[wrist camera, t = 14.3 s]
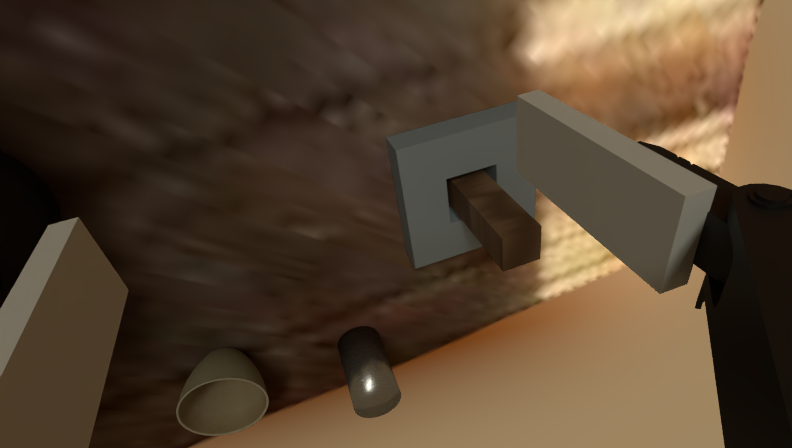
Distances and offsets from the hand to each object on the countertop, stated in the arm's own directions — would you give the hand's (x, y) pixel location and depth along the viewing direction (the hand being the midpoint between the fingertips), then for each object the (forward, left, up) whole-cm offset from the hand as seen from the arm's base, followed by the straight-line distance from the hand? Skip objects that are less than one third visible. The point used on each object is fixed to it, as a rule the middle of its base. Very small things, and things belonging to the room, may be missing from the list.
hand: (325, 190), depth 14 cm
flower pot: (-17, -38, -32) cm, 52 cm away
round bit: (0, -43, -32) cm, 53 cm away
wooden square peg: (+17, -22, -31) cm, 42 cm away
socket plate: (+17, -22, -32) cm, 42 cm away
